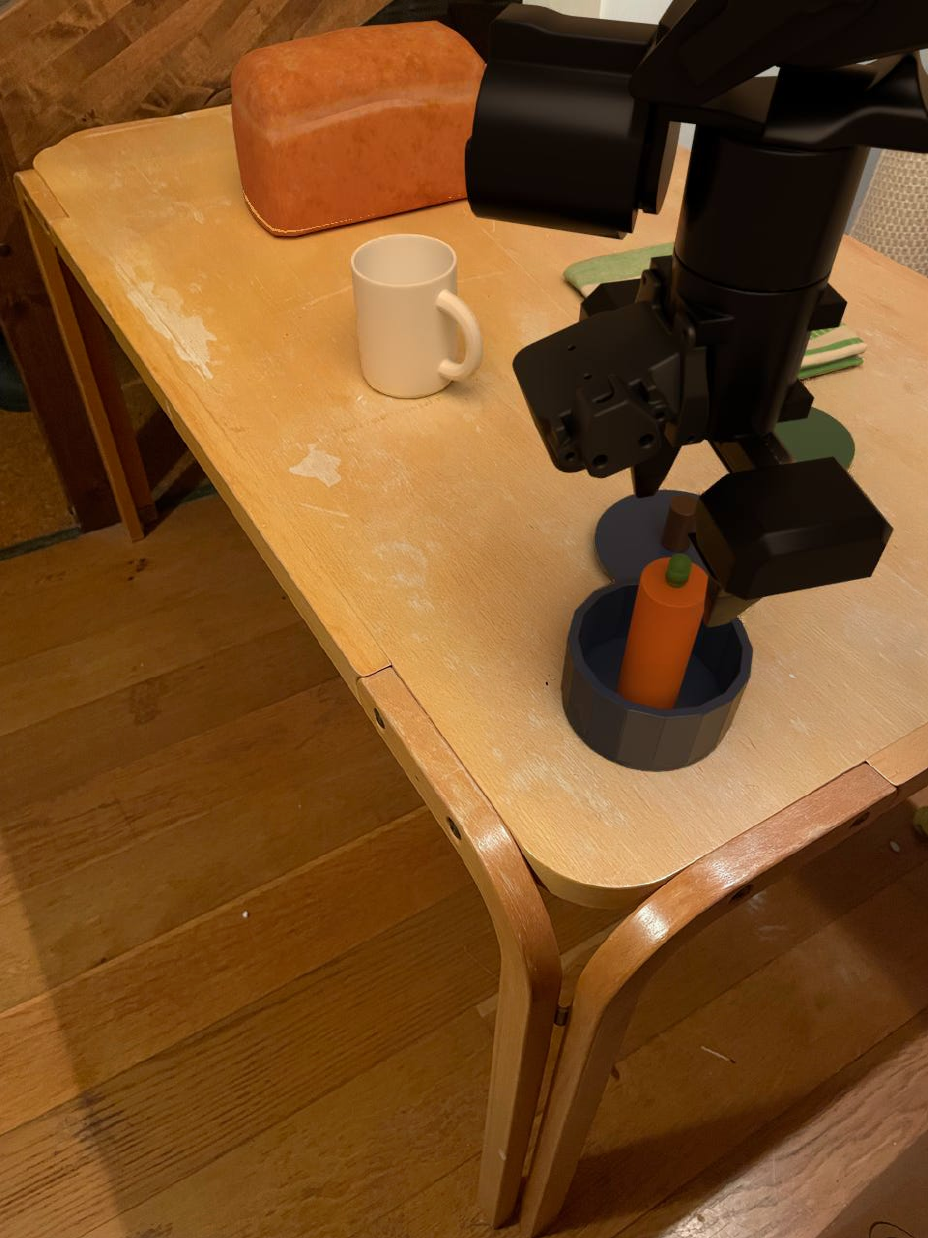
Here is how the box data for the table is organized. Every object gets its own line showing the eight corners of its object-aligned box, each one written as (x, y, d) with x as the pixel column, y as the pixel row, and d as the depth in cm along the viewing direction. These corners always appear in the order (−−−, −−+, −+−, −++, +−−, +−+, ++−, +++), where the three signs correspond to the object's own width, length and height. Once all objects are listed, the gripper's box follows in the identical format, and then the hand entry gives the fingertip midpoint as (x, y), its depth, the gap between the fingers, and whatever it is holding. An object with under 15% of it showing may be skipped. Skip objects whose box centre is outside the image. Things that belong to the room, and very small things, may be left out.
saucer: (852, 419, 73) (855, 411, 72) (851, 498, 66) (855, 490, 66) (727, 399, 74) (729, 390, 74) (715, 474, 68) (717, 466, 68)
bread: (235, 194, 100) (203, 31, 88) (447, 150, 107) (444, -5, 95) (274, 247, 92) (245, 76, 80) (500, 196, 99) (505, 32, 87)
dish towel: (717, 246, 91) (722, 220, 89) (868, 367, 77) (879, 338, 75) (561, 282, 87) (564, 255, 85) (692, 416, 73) (699, 388, 71)
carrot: (679, 678, 55) (721, 540, 46) (672, 725, 53) (714, 589, 44) (621, 665, 56) (651, 526, 47) (611, 711, 53) (641, 574, 44)
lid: (760, 516, 65) (776, 467, 62) (748, 629, 58) (766, 581, 55) (608, 488, 67) (615, 439, 64) (578, 594, 60) (585, 545, 57)
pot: (737, 654, 57) (758, 596, 53) (721, 790, 50) (744, 736, 46) (579, 620, 59) (587, 562, 54) (545, 748, 52) (551, 692, 48)
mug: (510, 386, 76) (516, 271, 68) (445, 432, 72) (443, 315, 64) (408, 335, 81) (402, 223, 73) (341, 375, 77) (327, 260, 69)
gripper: (477, 169, 37) (475, 462, 49) (633, 440, 26) (581, 741, 37) (724, 143, 39) (665, 433, 51) (979, 386, 27) (825, 691, 39)
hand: (677, 555), depth 44 cm, fingers open, 9 cm apart
